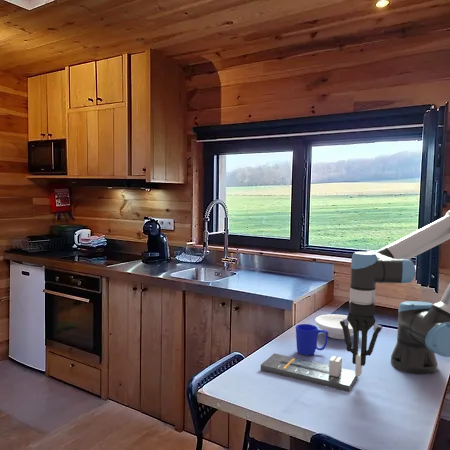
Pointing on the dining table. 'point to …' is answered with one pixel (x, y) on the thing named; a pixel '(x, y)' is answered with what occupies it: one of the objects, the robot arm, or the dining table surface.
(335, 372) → the block
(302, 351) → the mug
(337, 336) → the bowl
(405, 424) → the dining table surface
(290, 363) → the console
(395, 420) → the dining table surface
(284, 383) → the dining table surface
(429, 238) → the robot arm
